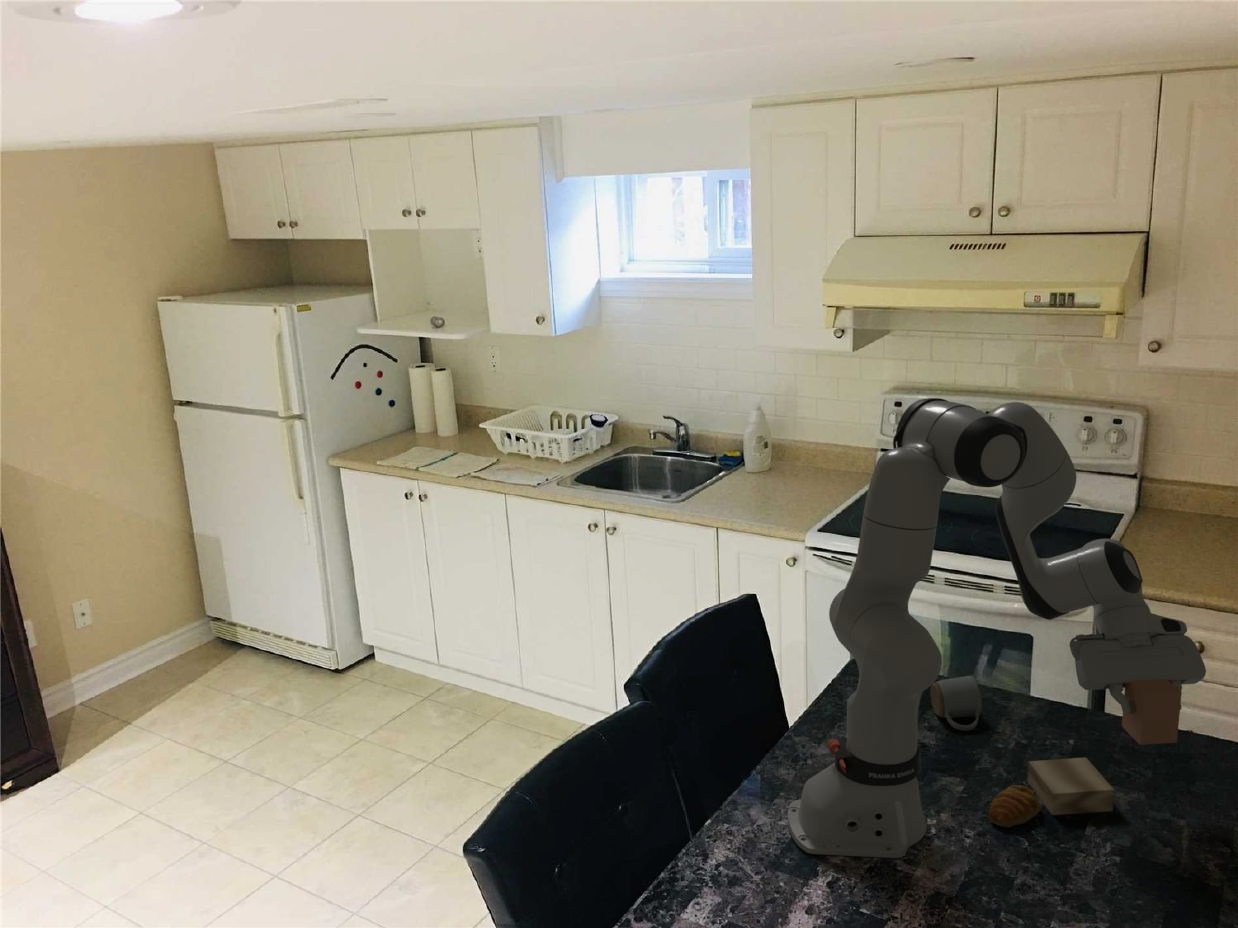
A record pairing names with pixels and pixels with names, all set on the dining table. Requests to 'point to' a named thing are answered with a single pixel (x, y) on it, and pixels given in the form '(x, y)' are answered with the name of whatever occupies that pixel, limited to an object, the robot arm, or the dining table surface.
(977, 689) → the ceramic mug
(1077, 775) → the oak base block
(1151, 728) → the reddish brown block
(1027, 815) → the pastry
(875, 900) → the dining table surface
